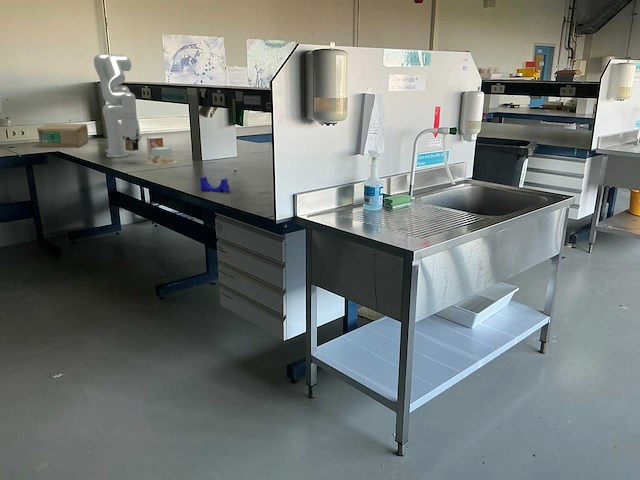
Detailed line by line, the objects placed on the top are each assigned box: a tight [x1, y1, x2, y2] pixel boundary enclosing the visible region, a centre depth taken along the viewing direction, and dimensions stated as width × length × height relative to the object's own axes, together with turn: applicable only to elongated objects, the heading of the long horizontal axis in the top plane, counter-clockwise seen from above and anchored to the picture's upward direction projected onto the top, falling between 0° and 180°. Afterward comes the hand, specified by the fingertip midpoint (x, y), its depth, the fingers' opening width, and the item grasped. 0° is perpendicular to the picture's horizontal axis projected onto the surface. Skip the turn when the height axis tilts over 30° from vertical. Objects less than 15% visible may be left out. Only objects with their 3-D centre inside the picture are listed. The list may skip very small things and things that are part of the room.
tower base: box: [149, 154, 175, 164], centre depth 305 cm, size 9×9×4 cm
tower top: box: [151, 146, 173, 157], centre depth 304 cm, size 8×8×4 cm
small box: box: [146, 136, 164, 159], centre depth 319 cm, size 8×6×13 cm
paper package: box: [36, 123, 89, 149], centre depth 369 cm, size 27×26×14 cm
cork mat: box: [145, 160, 180, 166], centre depth 306 cm, size 14×14×1 cm
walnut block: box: [124, 138, 139, 152], centre depth 299 cm, size 5×5×6 cm
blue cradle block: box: [199, 176, 230, 193], centre depth 237 cm, size 12×4×6 cm, turn 72°
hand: (132, 148), depth 300 cm, fingers closed on walnut block, 5 cm apart
